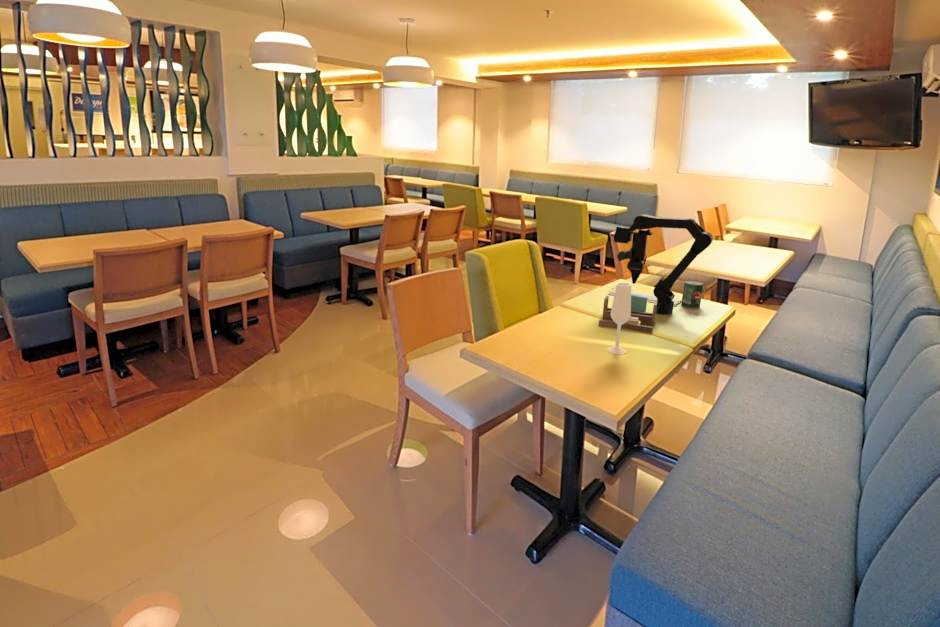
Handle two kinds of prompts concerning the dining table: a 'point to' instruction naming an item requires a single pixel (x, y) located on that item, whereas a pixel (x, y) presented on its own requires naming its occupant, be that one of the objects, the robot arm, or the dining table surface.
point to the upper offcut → (633, 320)
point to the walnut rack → (644, 317)
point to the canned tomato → (692, 294)
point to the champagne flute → (620, 312)
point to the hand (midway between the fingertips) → (634, 281)
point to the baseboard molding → (649, 297)
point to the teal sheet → (638, 303)
